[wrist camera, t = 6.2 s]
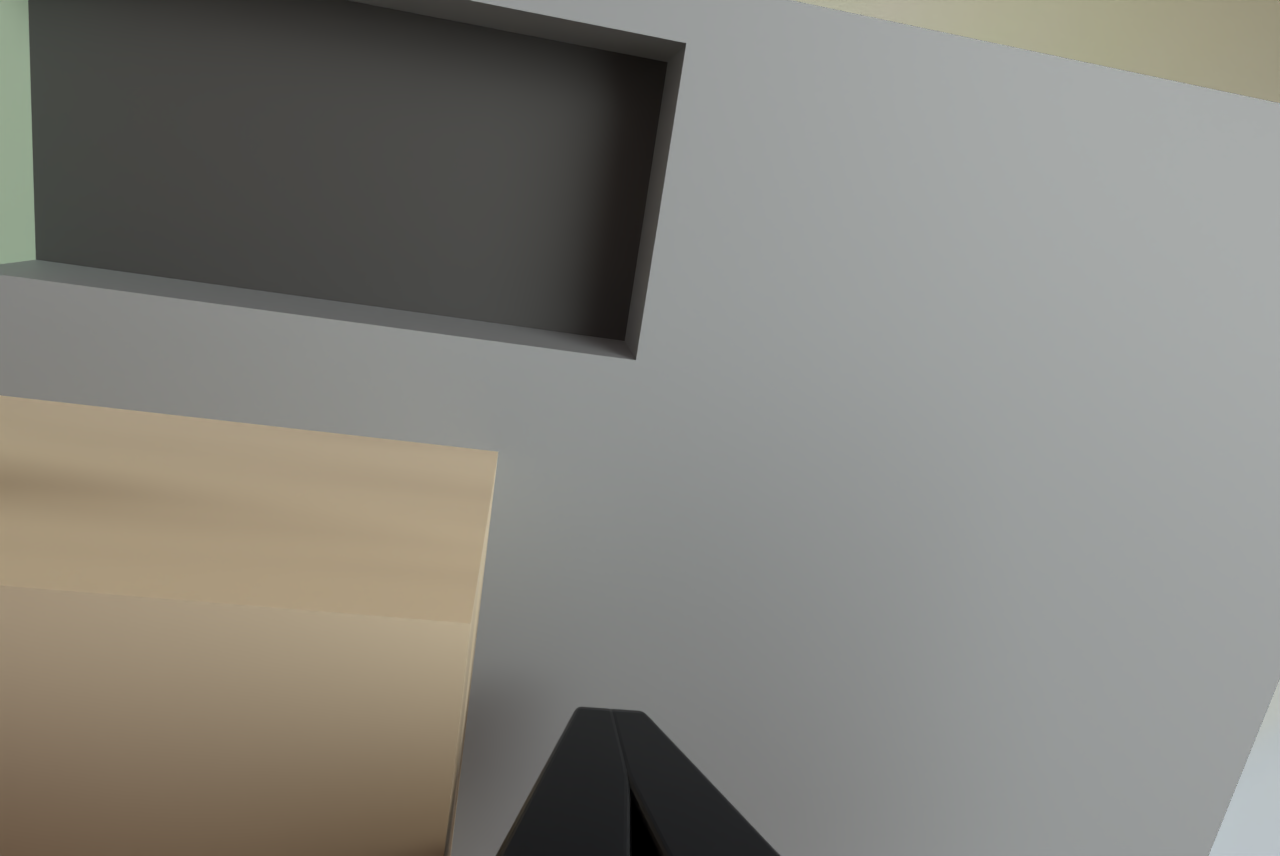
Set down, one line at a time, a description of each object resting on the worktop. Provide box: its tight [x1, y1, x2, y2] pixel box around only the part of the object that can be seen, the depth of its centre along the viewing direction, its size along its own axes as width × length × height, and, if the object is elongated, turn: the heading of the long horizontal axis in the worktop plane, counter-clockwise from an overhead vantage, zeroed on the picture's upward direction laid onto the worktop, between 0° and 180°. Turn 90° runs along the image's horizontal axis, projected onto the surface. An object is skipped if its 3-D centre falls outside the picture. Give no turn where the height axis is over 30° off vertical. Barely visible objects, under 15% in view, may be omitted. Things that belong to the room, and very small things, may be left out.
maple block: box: [0, 395, 498, 856], centre depth 8 cm, size 6×6×4 cm
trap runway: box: [0, 0, 1280, 856], centre depth 9 cm, size 16×24×4 cm, turn 81°
